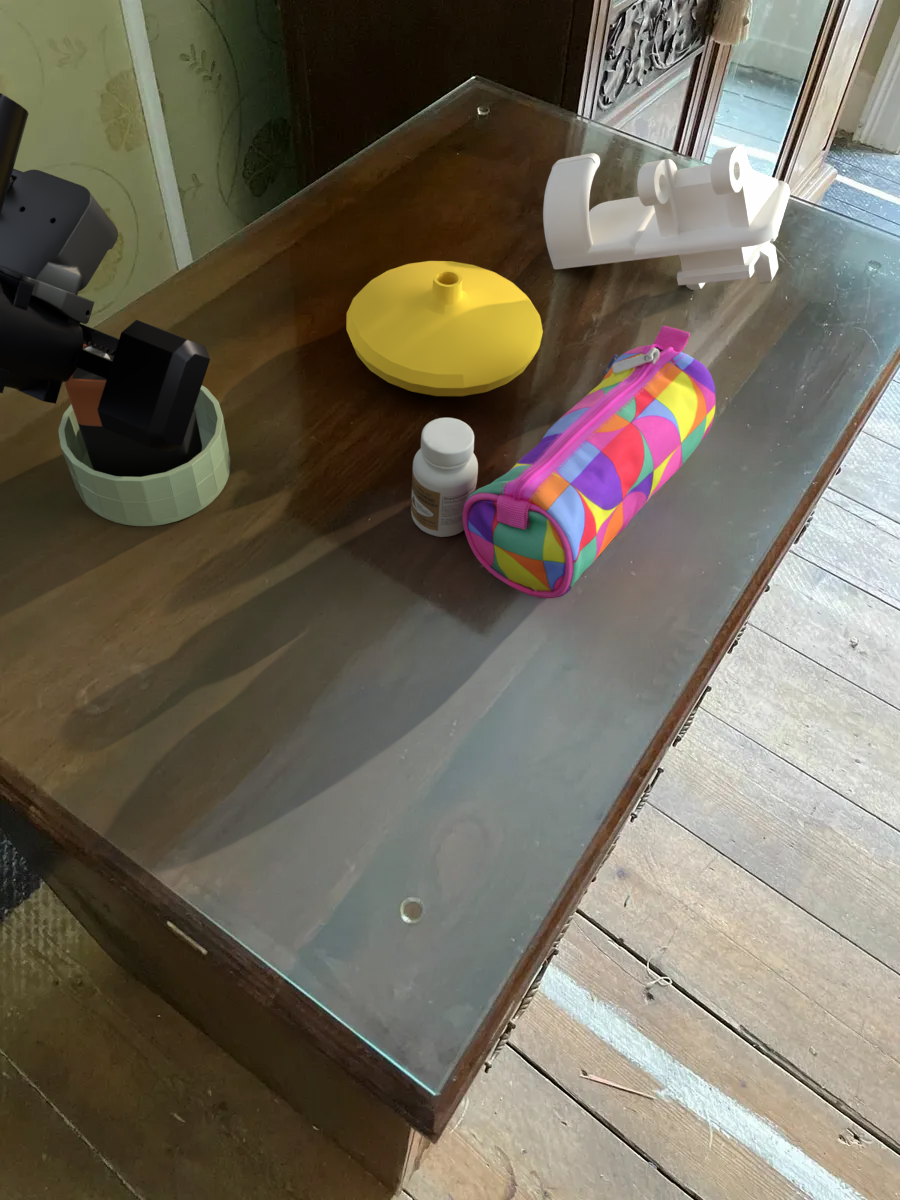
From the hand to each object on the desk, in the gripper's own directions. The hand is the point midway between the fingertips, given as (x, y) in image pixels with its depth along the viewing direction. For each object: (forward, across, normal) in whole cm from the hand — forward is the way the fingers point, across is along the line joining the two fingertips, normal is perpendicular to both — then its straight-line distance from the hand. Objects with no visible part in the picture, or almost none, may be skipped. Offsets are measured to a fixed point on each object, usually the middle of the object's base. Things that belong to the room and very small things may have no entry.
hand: (136, 368), depth 62 cm
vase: (+22, -12, -9) cm, 26 cm away
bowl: (+6, 0, +7) cm, 9 cm away
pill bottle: (+10, -20, +2) cm, 23 cm away
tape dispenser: (+36, -23, -23) cm, 48 cm away
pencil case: (+14, -29, -2) cm, 32 cm away
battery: (+5, 0, +6) cm, 8 cm away
